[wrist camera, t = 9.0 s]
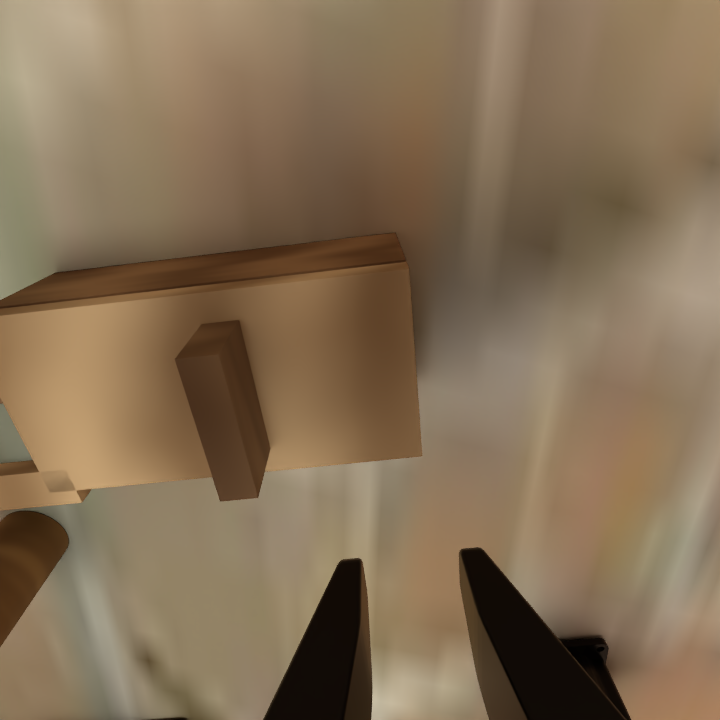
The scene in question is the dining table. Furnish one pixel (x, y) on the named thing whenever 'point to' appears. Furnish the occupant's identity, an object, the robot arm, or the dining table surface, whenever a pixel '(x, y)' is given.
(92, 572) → the dining table surface
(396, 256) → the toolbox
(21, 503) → the lid
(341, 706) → the robot arm
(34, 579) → the key peg
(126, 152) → the dining table surface
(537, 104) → the dining table surface
